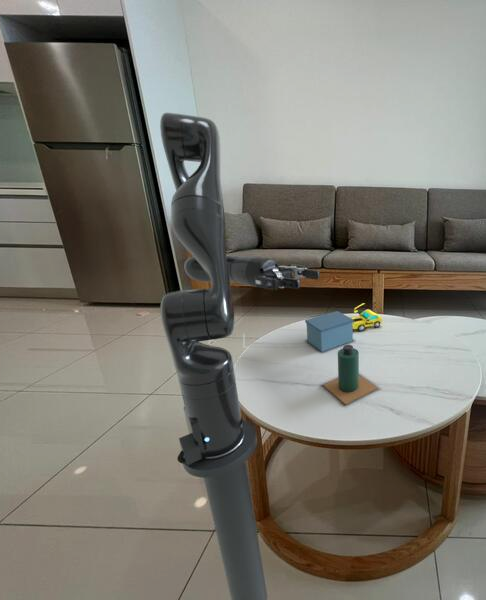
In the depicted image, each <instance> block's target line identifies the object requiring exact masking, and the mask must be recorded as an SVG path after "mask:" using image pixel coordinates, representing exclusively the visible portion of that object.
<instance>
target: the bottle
mask: <svg viewBox="0 0 486 600" xmlns="http://www.w3.org/2000/svg"><path fill="white" fill-rule="evenodd" d="M359 355H360V352H359V350H358V349H357V348H355V347H354V346H353V344H344V345H343V347H342V348H340V349H339V350H338V351H337V377H338V384H339V389H340V390H341V391H343V392H353V391H355V390H357V389H358V387H359V375H360V367H359V365H360V360H359V359H360V358H359V357H360V356H359Z"/></svg>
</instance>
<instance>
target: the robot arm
mask: <svg viewBox="0 0 486 600" xmlns="http://www.w3.org/2000/svg"><path fill="white" fill-rule="evenodd" d="M159 127H160V128H159V129H160V137H161V143H162V146H163V150H164V153H165V157H166V161H167V164H168V165H167V166H168V168H169V171H170V174H171V175H170V176H171V178H172V182H173V184H174V187H175V191H174V192H175V193H174V194H173V196H172V198H171V205H170V206H171V208H170V209H171V229H172V232H173V234H174V237H175V238H176V239H177V241H178V242H179V243H180V245H182V247H183V248H184V249H185V250H186V252H188V253H189V254H190V255H191V256H189V257H187V258H186V260H185V261H184V264H183V270H184V272H185V274H186V275H187V276H188V277H189V278H190V279H192V280H194V281H197V282H201V283H210V284H211V285H210V287H209V288H197V289H186V290H175V291H169V292H167V293H165V294H164V295H163V296H162V298H161V301H160V308H159V309H160V319H161V323H162V327H163V331H164V334H165V337H166V340H167V343H168V348H169V351H170V354H171V358H172V362H173V366H174V369H175V372H176V375H177V379H178V384H179V388H180V392H181V397H182V400H183V413H184V417H185V421H186V425H187V430H188V434H186V435H184V436H181V437H179V438H178V440H179V444H180V448H181V451H180V452H179V454H178V455H177V458H176V459H177V462H178V463H180V464H182V465H183V464H187V465H190V464H192V463H194V462H196V461H199V462H203V461H205V460H215V459H220V458H223V457H225V456H227V455H229V454H231V453H233V452H234V451H235V450H237V449H238V448H239V447H240V446H241V444H242V443H243V441H244V437H245V434H244V430H243V425H244V423H243V425H242V422H243V420H244V419H243V416H242V413H241V407H240V401H239V399H240V398H239V394H238V387H237V381H236V374H235V368H234V362H233V356H232V354H231V352H230V351H229V350H227V349H226V348H223V347H220V346H215V345H211V344H210V345H209V344H206V343H204V342H205V341H213V340H219V339H225V338H229V337H230V336H231V335H233V332H234V329H235V311H234V310H235V309H234V301H233V296H232V289H231V288H232V287H231V282H232V283H238V284H241V285H244V286H250V287H255V288H261V289H266V290H272V291H278V288H279V289H284V288H285V289H286V288H287V289H292V290H293V289H294V290H299V289H300V288H301V283H300V279H309V280H319V279H320V271H319V270H317V269H310V268H309V267H310V266H309V265H302V264H294V263H288V264H287V265H278V264H277V262H276V261H275V260H274V259H272V258H266V257H259V256H250V255H243V256H242V255H235V254H227V242H226V239H227V237H226V220H225V219H226V217H225V216H226V215H225V208H224V200H223V191H222V182H221V137H220V132H219V129H218V126H217V124H216V123H215V122H214V121H213V120H212V119H210V118H207V117H203V116H198V115H191V114H189V115H188V114H182V113H174V112H164V113H162V114H161V117H160V124H159ZM186 161H187V162H195V163H196V162H198V163H200V164H199V166H198V167H197V169H196V170H195V171H194V172H193V173H192V174H190V175H189V173H188V171H187V169H186V165H185V162H186ZM293 275H294V276H293ZM202 342H203V343H202ZM183 456H184V457H185V459H184V458H183Z"/></svg>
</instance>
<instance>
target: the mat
mask: <svg viewBox="0 0 486 600" xmlns="http://www.w3.org/2000/svg"><path fill="white" fill-rule="evenodd" d="M322 386H323V387H324V388H325V389H326V390H327V391H328V392H330V393H331V394H332V395H333V396H334V397H335V398H337V400H339V401H340V402H341V403H342V404H343V405H344V406H347V405H348V404H350V403H352V402H354V401H356V400H358V399H360V398H362V397H364V396H366V395H369V394H371V393H372V392H374V391H376V390H378V387H376V386H375V385H374V384H372V383H371V382H370V381H368V380H367V379H365V378H364V377H362V376H361V375H360V374H359V387H358V389H357V390H355V391H353V392H343V391H341V390H340V389H339V384H338V378H335V379H333V380H330V381H328V382H326V383H324V384H323V385H322Z"/></svg>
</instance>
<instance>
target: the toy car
mask: <svg viewBox="0 0 486 600" xmlns="http://www.w3.org/2000/svg"><path fill="white" fill-rule="evenodd" d="M365 304H366V303H363V302H362V303H361V304H359V305H357V306H356V307H354V309H353V313H354V314H357V313H358V315H359V316H352V317H350V318H351V319H353V320H354V322H353V330H358V331H360V332H362V331H364V330H365V328H368V327H372V326H374V327H375V328H380V325H381V324H382V323H383V317H382V316H381V315H379V314H378V313H376V312H374V311H372V310H371V309H365V310H363V311H362V312H359V310H357V309H358V308H359V307H361V306H363V305H365Z"/></svg>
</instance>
